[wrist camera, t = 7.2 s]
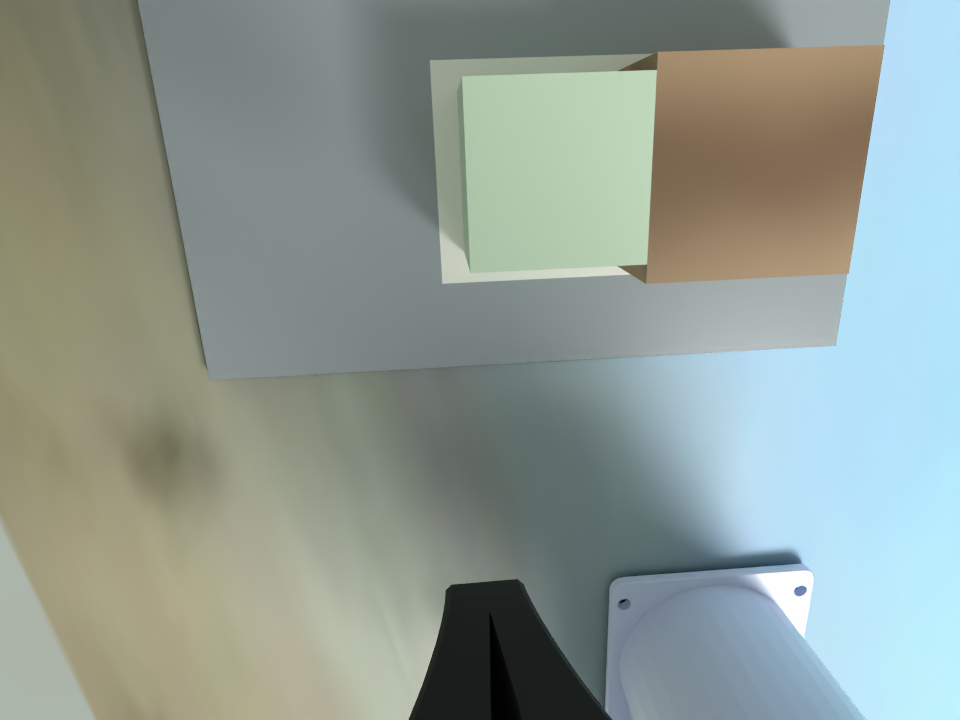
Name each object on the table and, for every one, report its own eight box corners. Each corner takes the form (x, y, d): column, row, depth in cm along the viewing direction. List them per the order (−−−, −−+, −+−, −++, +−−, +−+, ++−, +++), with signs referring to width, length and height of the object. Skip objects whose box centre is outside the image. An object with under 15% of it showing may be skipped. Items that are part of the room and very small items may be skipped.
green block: (609, 245, 19) (647, 264, 16) (464, 252, 19) (470, 273, 16) (614, 86, 18) (656, 70, 14) (457, 91, 18) (462, 76, 14)
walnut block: (777, 253, 20) (848, 273, 16) (609, 261, 19) (646, 284, 16) (799, 65, 18) (884, 45, 15) (615, 71, 18) (658, 51, 14)
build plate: (828, 342, 21) (835, 345, 21) (213, 376, 20) (209, 380, 20) (890, -61, 17) (900, -65, 17) (135, -45, 16) (127, -50, 16)
